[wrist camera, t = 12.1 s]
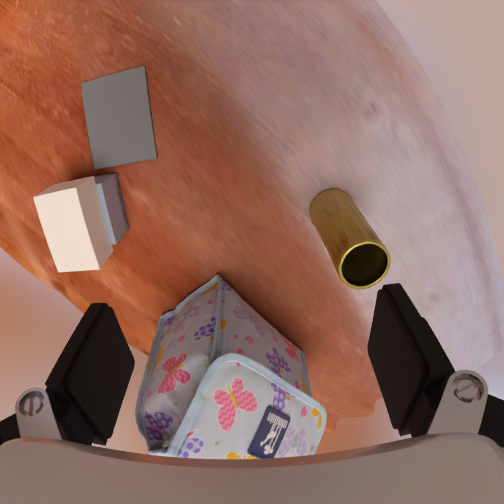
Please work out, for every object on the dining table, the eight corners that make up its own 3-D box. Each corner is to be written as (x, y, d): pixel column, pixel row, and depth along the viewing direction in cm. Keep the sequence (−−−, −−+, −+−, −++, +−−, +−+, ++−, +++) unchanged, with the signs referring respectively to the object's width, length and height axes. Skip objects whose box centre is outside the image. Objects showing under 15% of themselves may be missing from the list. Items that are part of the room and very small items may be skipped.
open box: (69, 181, 38) (50, 193, 34) (116, 172, 38) (101, 183, 34) (82, 233, 42) (67, 249, 38) (129, 227, 42) (116, 244, 37)
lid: (52, 185, 33) (33, 197, 30) (93, 175, 33) (75, 187, 29) (73, 254, 38) (58, 272, 34) (113, 251, 38) (99, 269, 34)
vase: (317, 182, 39) (348, 229, 26) (360, 195, 40) (405, 245, 27) (303, 225, 42) (324, 287, 29) (345, 236, 42) (379, 298, 30)
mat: (82, 83, 32) (81, 83, 32) (145, 66, 32) (144, 65, 31) (96, 168, 38) (95, 169, 37) (157, 157, 37) (156, 158, 37)
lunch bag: (321, 345, 52) (349, 488, 29) (246, 385, 57) (243, 514, 34) (234, 257, 44) (218, 432, 21) (156, 315, 49) (108, 463, 26)
